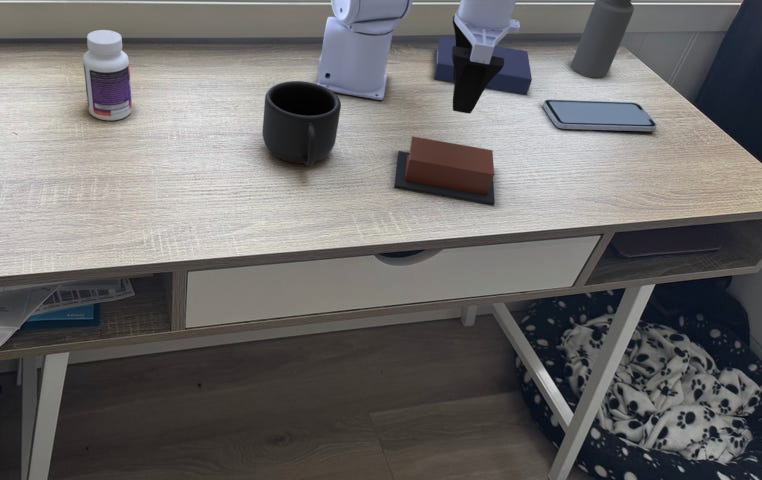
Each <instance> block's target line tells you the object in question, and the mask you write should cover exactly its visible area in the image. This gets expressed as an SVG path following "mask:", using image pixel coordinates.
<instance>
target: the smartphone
mask: <svg viewBox="0 0 762 480" xmlns="http://www.w3.org/2000/svg"><path fill="white" fill-rule="evenodd" d="M542 107H543V109H544V110H545V112H546V114H547V115H548V117H549V118H550V120H551V121H552V123H553V124H554V126H555V127H557V128H559V129H564V130H596V131H597V130H598V131H629V132H654V131H656V130H657V127H658V124H657V122H656V121H654V119H653V118H652V117H651V115H650V114H649V113H648V112H647V111H646V110H645V108H643V106H642V105H641V104H639V103H637V102H634V101H607V100H605V101H603V100H576V99H575V100H574V99H573V100H572V99H549V98H548V99H544V100H543V103H542Z"/></svg>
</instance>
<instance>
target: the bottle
mask: <svg viewBox="0 0 762 480" xmlns="http://www.w3.org/2000/svg"><path fill="white" fill-rule="evenodd" d="M634 10H635V7H634V5H633V3H632V0H595V1H594V3H593V6H592V7H591V11H590V14H589V16H588V19H587V22H586V25H585V26H584V29H583V32H582V35H581V38H580V40H579V43H578V45H577V48H576V51H575V53H574V56H573V59H572V62H571V65H570V66H571V68H572V70H574V71H575V72H576V73H578V74H580V75H581V76H585V77H588V78H592V79H593V78H594V79H600V78H605V77H607V75H608V74H609V71H610V69H611V67H612V64H613V62H614V60H615V57H616V55H617V53H618V50H619V47H620V45H621V43H622V40H623V38H624V36H625V33H626V32H627V29H628V26H629V24H630V21H631V19H632V16H633V14H634Z"/></svg>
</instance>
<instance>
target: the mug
mask: <svg viewBox="0 0 762 480" xmlns="http://www.w3.org/2000/svg"><path fill="white" fill-rule="evenodd" d="M341 103H342V102H341V99H340V97H339V96H338V95H337V93H336V92H332V91H331V90H329V89H328V88H326V87H324V86H321V85H318V83H314V82H309V81H303V80H302V81H301V80H290V81H284V82H280V83H277V84H275V85H272V86H271V87H270V88H268V90H267V91H266V93H265V96H264V107H263V117H262V118H263V119H262V120H263V121H262V139H263V142H264V144H265V147H266V149H267V150H268V151H269V152H270V153H271V154H272V155H273V156H274V157H277V158H278V159H281V160H283V161H286V162H289V163H295V164H305V166H307V167H313V166H314V164H315V163H316V162H319V161H322V160H323V159H325V158H327V156H328V155H329V154H330V152H332V150H333V149H334V147H335V144H336V140H337V134H338V128H339V122H340V121H339V120H340V114H341V109H342V105H341Z"/></svg>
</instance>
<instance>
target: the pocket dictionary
mask: <svg viewBox="0 0 762 480" xmlns="http://www.w3.org/2000/svg"><path fill="white" fill-rule="evenodd" d="M493 151H494V150H493V149H489V148H488V149H487V148H482V147H476V146H471V145H465V144H460V143H453V142H446V141H443V140H435V139H430V138H424V137H420V136H419V137H418V136H411V139H410V148H409V153H410V155H407V163H406V173H405V181H409V182H414V183H420V184H425V185H431V186H437V187H442V188H448V189H454V190H459V191H465V192H471V193H476V194H482V195H488V192H489V189H490V186H491V183H492V180H493V181H494V176H495V165H494V152H493Z"/></svg>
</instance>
